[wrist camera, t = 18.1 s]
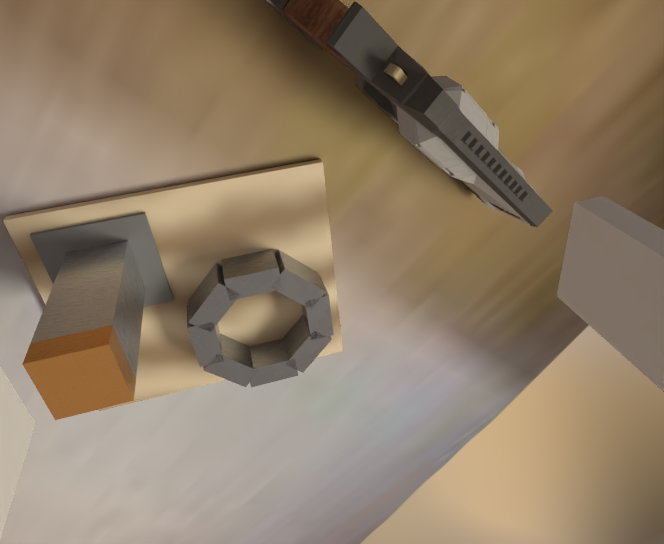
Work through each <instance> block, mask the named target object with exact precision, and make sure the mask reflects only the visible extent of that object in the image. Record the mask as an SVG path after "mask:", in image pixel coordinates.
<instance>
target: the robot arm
mask: <svg viewBox="0 0 664 544" xmlns="http://www.w3.org/2000/svg"><path fill="white" fill-rule="evenodd" d="M557 297H558V298H560V299H561V300H562V301H563V302H564V303H565V304H566V305H567V306H568V307H570V308H571V309H572V310H573V311H574V312H575V313H576V314H577V315H579V316H580V317H581V318H582V319H583V320H584V321H585V322H586V323H587V324H589V325H590V326H591V327H592V328H593V329H594V330H595V331H597V332H598V333H599V334H600V335H601V336H602V337H603V338H604V339H605V340H606V341H608V342H609V343H610V344H611V345H612V346H613V347H614V348H615V349H617V350H618V351H619V352H620V353H621V354H622V355H623V356H624V357H625V358H627V359H628V360H629V361H630V362H631V363H632V364H633V365H634V366H636V367H637V368H638V369H639V370H640V371H641V372H642V373H643V374H644V375H645V376H647V377H648V378H649V379H650V380H651V381H652V382H653V383H654V384H656V385H657V386H658V387H659V388H660V389H661V390H662V391H663V392H664V230H662V229H661V228H659V227H657V226H655V225H654V224H652V223H650V222H648V221H646V220H645V219H643V218H641V217H639V216H638V215H636V214H634V213H632V212H630V211H629V210H627V209H625V208H623V207H622V206H620V205H618V204H616V203H614V202H613V201H611V200H609V199H607V198H606V197H604V196H602V197H597V198H592V199H587V200H583V201H578V202H575V204H574V209H573V214H572V219H571V225H570V230H569V235H568V240H567V246H566V251H565V256H564V261H563V266H562V272H561V277H560V282H559V287H558V292H557ZM35 425H36V423H35V422H34V420H33V418H32V417H31V415H30V414H29V412H28V410H27V409H26V407H25V406H24V404H23V402H22V401H21V399H20V397H19V396H18V394H17V393H16V391H15V389H14V388H13V386H12V385H11V383H10V381H9V380H8V378H7V377H6V375H5V373H4V372H3V370H2V369H1V367H0V538H1V535H2V531H3V528H4V525H5V522H6V519H7V515H8V512H9V509H10V506H11V502H12V499H13V496H14V493H15V489H16V486H17V483H18V480H19V476H20V473H21V470H22V467H23V464H24V460H25V457H26V454H27V451H28V447H29V444H30V441H31V438H32V434H33V431H34V428H35Z"/></svg>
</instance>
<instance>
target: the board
mask: <svg viewBox="0 0 664 544" xmlns="http://www.w3.org/2000/svg"><path fill="white" fill-rule="evenodd" d="M142 212H145V213H146V216H147V219H148V222H149V225H150V228H151V231H152V234H153V237H154V240H155V244H156V247H157V250H158V253H159V256H160V259H161V262H162V265H163V268H164V271H165V274H166V277H167V280H168V283H169V286H170V289H171V292H172V295H173V298H174V301H170V302H166V303H161V304H157V305H152V306H147V307H143V317H142V327H141V336H140V346H139V356H138V365H137V375H136V385H135V394H134V401H130V402H126V403H122V404H118V405H114V406H110V407H106V408H102V409H99V411H101V410H105V409H109V408H113V407H117V406H122V405H126V404H130V403H134V402H138V401H142V400H146V399H150V398H154V397H158V396H162V395H166V394H170V393H174V392H178V391H182V390H186V389H190V388H195V387H199V386H203V385H207V384H211V383H215V382H219V381H223V380H227V379H224V378H221V377H219V376H216V375H214V374H211V373H209V372H206V371H204V369H203V366H202V367H200V366H199V363H198V359H197V356H196V353H195V350H194V347H193V344H192V341H191V338H190V335H189V332H188V329H187V305H188V300H189V298H190V297H191V295H192V294H193V293H194V291H195V290H196V289H197V287H198V286H199V285H200V283H201V282H202V281H203V279H204V278H205V277H206V275H207V274H208V273H209V271H210V270H211V269H212V267H213V266H214V265H215V263H217V264H219V265H221V266H222V261H221V259H226V258H231V257H236V256H240V255H245V254H250V253H255V252H260V251H264V250H269V249H273V251H274V254H276V252H277V251H278V250H280V251H282V252H284V253H285V254H287V255H289V256H291V257H292V258H294V259H296V260H297V261H299V262H301V263H303V264H304V265H306V266H308V267H310V268H311V269H313V270H315V271H317V272H318V274H319V276H321V279H322V281H323V283H324V285H325V288H326V290H327V292H328V294H329V300H330V308H331V317H332V325H333V334H334V335H331V338H332V340H331V341H330V342H329V343H328V345H327V346H326V347H325V348H324V349H323V350H322V351H321V353H320V354H319V355H318V356H317V357H320V356H324V355H328V354H332V353H337V352H341V351H343V348H342V338H341V329H340V320H339V310H338V301H337V292H336V282H335V273H334V264H333V254H332V245H331V236H330V226H329V217H328V207H327V198H326V189H325V179H324V170H323V162H322V160H321V159H318V160H313V161H307V162H302V163H296V164H291V165H285V166H280V167H274V168H269V169H263V170H258V171H252V172H247V173H241V174H236V175H230V176H225V177H219V178H214V179H208V180H203V181H197V182H192V183H186V184H181V185H175V186H170V187H164V188H159V189H153V190H148V191H142V192H136V193H131V194H125V195H120V196H114V197H109V198H103V199H98V200H92V201H87V202H81V203H76V204H70V205H65V206H59V207H54V208H48V209H43V210H37V211H32V212H26V213H21V214H15V215H10V216H5V218H4V219H3V222H4V224H5V226H6V228H7V230H8V232H9V234H10V236H11V238H12V240H13V242H14V244H15V246H16V248H17V250H18V252H19V254H20V256H21V258H22V260H23V262H24V264H25V265H26V267H27V269H28V271H29V273H30V275H31V277H32V279H33V281H34V283H35V285H36V287H37V289H38V291H39V293H40V295H41V297H42V299H43V301H44V303H45V305H46V302H47V300H48V297H49V295H50V292H51V289H52V287H53V283H52V281H51V279H50V277H49V275H48V272H47V270H46V268H45V266H44V264H43V262H42V260H41V258H40V256H39V254H38V252H37V250H36V248H35V246H34V243H33V241H32V239H31V237H30V234H31V233H36V232H41V231H46V230H52V229H57V228H62V227H68V226H73V225H78V224H84V223H89V222H94V221H100V220H105V219H110V218H116V217H121V216H126V215H132V214H137V213H142ZM302 315H303V311H302V305H301V304H300V303H298V302H296V301H294V300H292V299H290V298H289V297H287V296H285V295H283V294H281V293H279V292H277V291H272V292H268V293H263V294H259V295H254V296H249V297H245V298H240V299H237V300H236V301H235V302H234V303H233V305H232V306H231V307H230V308H229V310H228V311H227V312H226V314H225V315H224V316H223V317H222V319H221V320H220V321H219V323H218V327H219V330H220V334H223V335H225V336H227V337H230V338H232V339H234V340H236V341H239V342H241V343H243V344H246V345H248V346H253V345H257V344H261V343H265V342H270V341H274V340H278V339H282V338H284V336H285V335H286V334H287V333H288V332H289V330H290V329H291V328H292V327H293V326H294V324H295V323H296V322H297V321H298V320H299V318H300V317H301V316H302Z"/></svg>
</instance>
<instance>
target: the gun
mask: <svg viewBox="0 0 664 544" xmlns="http://www.w3.org/2000/svg"><path fill="white" fill-rule="evenodd" d="M266 1H267V2H268V3H269V4H270V5H271V6H272V7H273V8H274V9H275V10H276V11H277V12H278V13H279V14H281V15H282V16H283V17H284V18H285V19H286V20H287V21H288V22H289V23H291V24H292V25H293V26H294V27H295V28H296V29H297V30H299V31H300V32H301V33H302V34H303V35H304V36H306V37H307V38H308V39H309V40H310V41H312V42H313V43H314V44H315V45H316V46H317V47H319V48H322V49H323V48H324V49H325V50H326V51H328V52H329V53H330V54H331V55H332V56H334V57H335V58H336V59H337V60H339V61H340V62H342V63H343V64H344V65H346V66H347V67H348V68H350V69H352V70H353V71H354V72H355V73H356V74H357V78H356V86H357V87H358V88H359V89H360V90H361V91H362V92H363V93H364V94H365V95H366V96H367V97H368V98H369V99H370V100H371V101H373V102H374V103H375V104H376V105H377V106H378V107H379V108H380V109H381V110H382V111H384V112H385V113H386V114H387V115H388V116H389V117H391V118H392V119H393V120H394V121H395V122H396V123H397V124H398V125H399V133H400V134H401V135H402V136H403V137H404V138H405V139H406V140H408V141H409V142H410V143H411V144H412V145H413V146H414V147H416V148H417V149H418V150H419V151H420V152H421V153H423V154H424V155H425V156H426V157H427V158H428V159H429V160H431V161H432V162H433V163H434V164H435V165H436V166H438V167H439V168H440V169H442V170H443V171H445V172H446V173H447V174H449V175H450V176H452V177H454V178H456V179H459V180H460V181H462V182H463V183H464V184H465V185H466V186H467V187H468V188H469V189H470V190H471V191H472V192H473V193H474V194H475V195H476V196H477V197H478V198H479V199H480V200H481V201H482V202H483V203H484V204H485V205H486V206H488V207H489V208H490V209H497V210H499V211H501V212H503V213H506V214H508V215H510V216H512V217H514V218H516V219H518V220H520V221H523V222H525V223H527V224H529V225H531V226H535V227H538V226H539V225H540V224H541V223H542V222H543V221H544V220H545V219H546V218H547V217H548V215H549V214H550V213H551V212H552V210H551V209H550V207H549V206H548V205H547V204H546V203H545V202H544V201H543V200H542V198H541V197H540V195H539V194H538V193H537V192H536V190H535V189H534V188H533V187H532V186H531V185H530V184H529V183H528V181H527V180H526V179H525V177H524V173H523V172H522V171H521V169H520V168H519V167H517V166H516V165H514V164H513V163H512V162H510V161H509V160H508V159H507V158H506V156H505V155H504V154H503V153H502V152H501V151H500V150H499V148H498V141H499V129H498V127H497V126H496V125H495V124H494V123H493V122H492V121H491V120H490V118H489V117H488V116H487V114H486V113H485V112H484V111H483V110H482V109H481V107H480V106H479V105H478V104H477V103H476V102H475V100H474V99H473V98H472V97H471V96H470V95H469V93H468V92H467V91H466V90H465V89H464V88H463V86H462V85H460V84H458V83H457V82H455V81H453V80H451V79H450V78H448V77H447V76H437V77H431V76H430V75H429V74H428V73H427V72H426V70H425V69H424V68H423V67H422V66H421V65H420V64H418V63H417V62H416V61H415V60H414V59H413V58H411V57H410V56H409V55H408V54H407V53H405V52H404V51H403V50H402V49H401V48H400V47H399V46H398V45H397V44H396V43H395V42H394V41H393V39H392V38H391V37H390V36H389V35H388V34H387V33H386V32H385V31H384V30H383V29H382V27H381V26H380V25H379V24H378V23H377V22H376V21H375V20H374V19H373V18H372V17H371V16H370V14H369V13H368V12H367V11H366V10H365V9H364V8H363V7H362V6H361V5H359V4H358V3H357V2H355V1H354V2H353V4H352V5H351V7H350V8H347V7H346V6H345V5H344V4H343V3H342V2H340V1H339V0H266ZM509 212H510V213H509ZM511 213H512V214H511ZM513 214H514V215H513ZM515 215H516V216H515Z"/></svg>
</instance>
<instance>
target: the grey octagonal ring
mask: <svg viewBox="0 0 664 544" xmlns="http://www.w3.org/2000/svg"><path fill="white" fill-rule="evenodd" d="M221 261H222V266H221V265H219V264H217V263H215V265H214V266H213V267H212V269H211V270H210V271H209V273H208V274H207V275H206V277H205V278H204V279H203V281H202V282H201V283H200V285H199V286H198V287H197V289H196V290H195V291H194V293H193V294H192V295H191V297H190V298H189V300H188V305H187V329H188V332H189V335H190V338H191V341H192V344H193V347H194V350H195V353H196V356H197V359H198V363H199V366H200V367H202V366H203V369H204V371H206V372H209V373H211V374H214V375H216V376H219V377H221V378H224V379H227V380H229V381H232V382H234V383H237V384H239V385H242V386H245V387H246V386H247V385H248V384H249V382H250V384H251V387H254V386H258V385H262V384H266V383H270V382H274V381H278V380H282V379H286V378H290V377H294V376H298V372H297V370H298V371H300V372H304V371H305V370H306V368H307V367H308V366H309V365H310V364H311V363H312V362H313V361H314V359H315V358H316V357H317V356H318V355H319V354H320V353H321V351H322V350H323V349H324V348H325V347H326V346H327V345H328V343H329V342H330V341H331V340H332V338H331V335H334V334H333V325H332V317H331V308H330V300H329V294H328V292H327V290H326V288H325V285H324V283H323V281H322V279H321V276H319V274H318V272H317V271H315V270H313V269H311V268H310V267H308V266H306V265H304V264H303V263H301V262H299V261H297V260H296V259H294V258H292V257H291V256H289V255H287V254H285V253H284V252H282V251H280V250H278V251H277V252H276V254H274V251H273V249H269V250H264V251H260V252H255V253H250V254H245V255H240V256H236V257H231V258H226V259H221ZM272 291H277V292H279V293H281V294H283V295H285V296H287V297H289V298H290V299H292V300H294V301H296V302H298V303H300V304H301V305H302V311H303V315H302V316H301V317H300V318H299V320H298V321H297V322H296V323H295V324H294V326H293V327H292V328H291V329H290V330H289V332H288V333H287V334H286V335H285V336H284V338H282V339H278V340H274V341H270V342H265V343H261V344H257V345H253V346H248V345H246V344H243V343H241V342H239V341H236V340H234V339H232V338H230V337H227V336H225V335H223V334H220V330H219V327H218V323H219V321H220V320H221V319H222V317H223V316H224V315H225V314H226V312H227V311H228V310H229V308H230V307H231V306H232V305H233V303H234V302H235V301H236V300H237V299H240V298H245V297H249V296H254V295H259V294H263V293H268V292H272Z"/></svg>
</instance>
